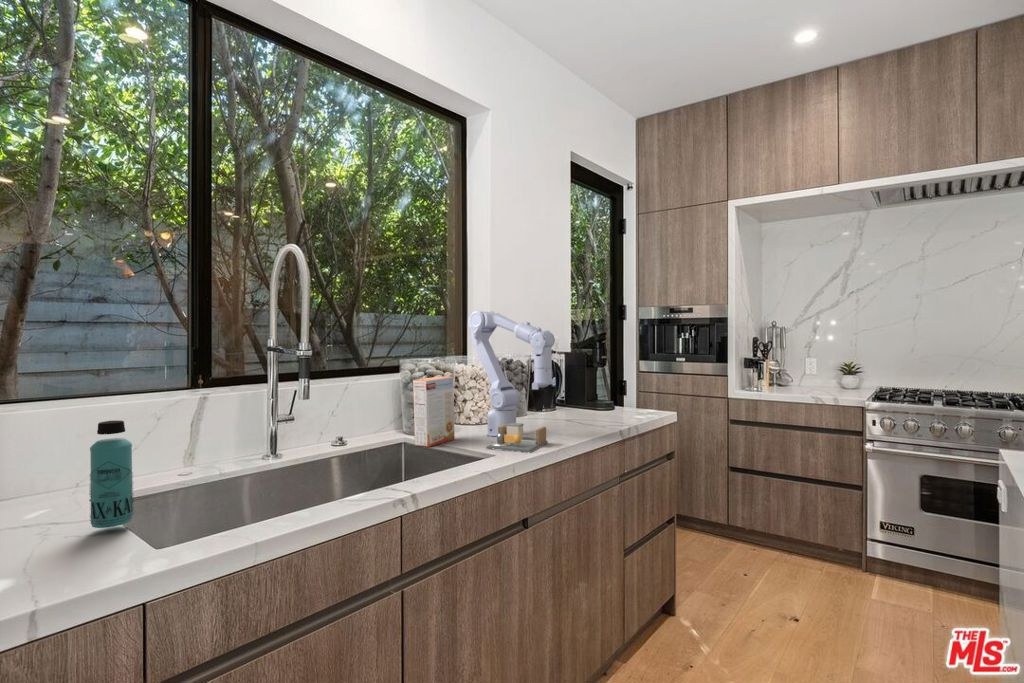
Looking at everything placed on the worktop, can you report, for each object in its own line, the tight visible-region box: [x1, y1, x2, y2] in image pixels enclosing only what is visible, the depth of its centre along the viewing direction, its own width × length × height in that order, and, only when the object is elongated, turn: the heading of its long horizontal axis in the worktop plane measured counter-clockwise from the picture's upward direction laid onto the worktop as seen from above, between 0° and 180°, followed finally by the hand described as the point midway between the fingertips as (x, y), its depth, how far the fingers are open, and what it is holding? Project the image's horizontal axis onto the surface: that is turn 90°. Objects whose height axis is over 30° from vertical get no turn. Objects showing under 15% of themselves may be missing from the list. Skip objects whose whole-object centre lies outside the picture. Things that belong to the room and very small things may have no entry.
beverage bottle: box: [88, 419, 135, 529], centre depth 101 cm, size 6×7×20 cm
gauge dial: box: [490, 433, 511, 447], centre depth 171 cm, size 6×6×3 cm
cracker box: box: [412, 375, 455, 448], centre depth 179 cm, size 14×6×21 cm, turn 149°
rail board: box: [486, 424, 548, 453], centre depth 172 cm, size 14×15×5 cm
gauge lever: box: [504, 434, 521, 444], centre depth 168 cm, size 6×2×2 cm, turn 53°
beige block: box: [506, 422, 525, 440], centre depth 177 cm, size 4×4×5 cm
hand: (543, 409), depth 182 cm, fingers open, 7 cm apart
